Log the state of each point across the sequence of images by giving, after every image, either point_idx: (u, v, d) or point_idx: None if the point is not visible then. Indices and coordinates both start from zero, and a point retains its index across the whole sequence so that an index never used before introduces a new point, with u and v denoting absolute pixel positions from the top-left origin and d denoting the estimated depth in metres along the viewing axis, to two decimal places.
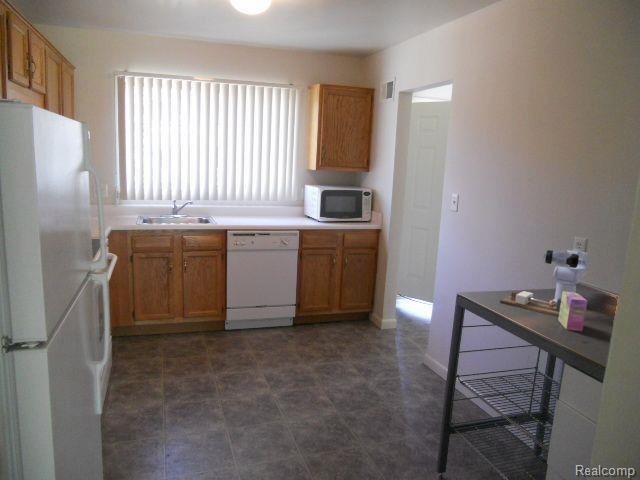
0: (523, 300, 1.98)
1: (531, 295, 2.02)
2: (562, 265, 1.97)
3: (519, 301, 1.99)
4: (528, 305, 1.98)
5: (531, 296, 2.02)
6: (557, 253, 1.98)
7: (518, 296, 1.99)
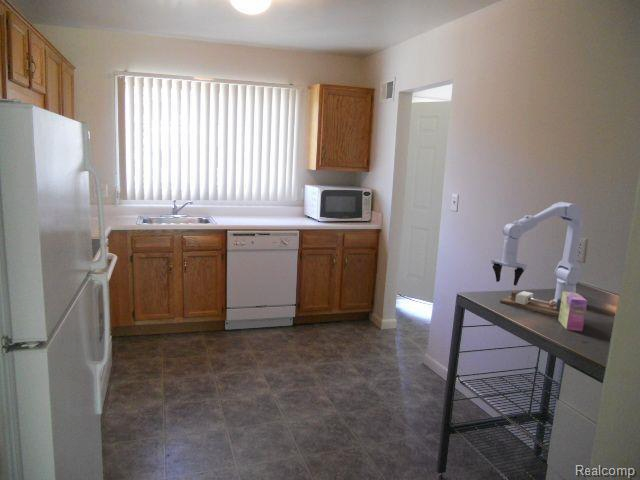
0: (523, 300, 1.98)
1: (531, 295, 2.02)
2: None
3: (519, 301, 1.99)
4: (528, 305, 1.98)
5: (531, 296, 2.02)
6: (501, 263, 2.02)
7: (518, 296, 1.99)
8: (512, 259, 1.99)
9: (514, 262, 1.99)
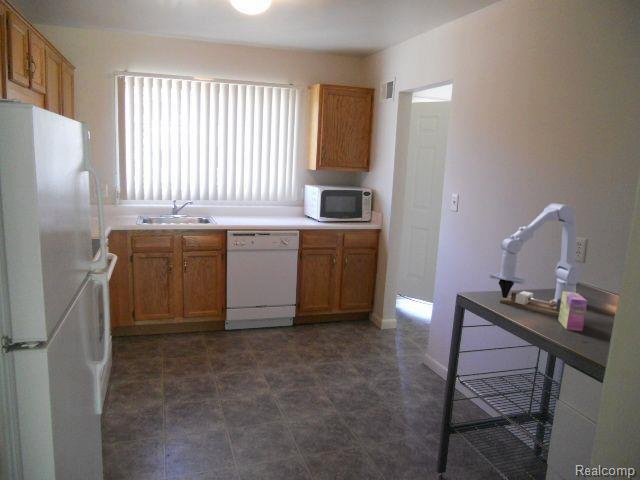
0: (523, 300, 1.98)
1: (531, 295, 2.02)
2: None
3: (519, 301, 1.99)
4: (528, 305, 1.98)
5: (531, 296, 2.02)
6: None
7: (518, 296, 1.99)
8: (510, 274, 2.00)
9: (512, 277, 2.00)
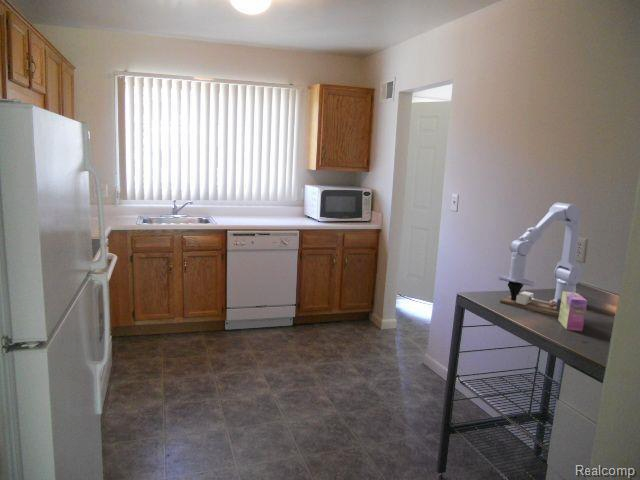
0: (524, 300, 1.98)
1: (532, 295, 2.02)
2: None
3: (520, 301, 1.99)
4: (528, 305, 1.98)
5: (532, 296, 2.02)
6: None
7: (519, 296, 1.99)
8: (519, 276, 1.97)
9: (521, 279, 1.98)
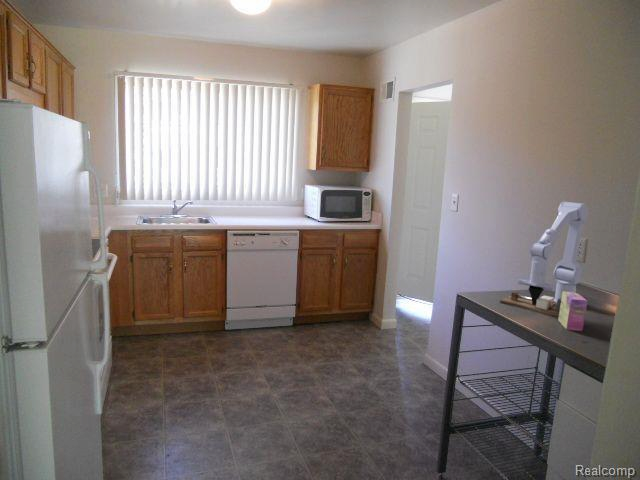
0: (544, 305, 1.92)
1: (552, 300, 1.97)
2: None
3: (540, 306, 1.93)
4: (528, 305, 1.98)
5: None
6: None
7: (539, 301, 1.93)
8: (541, 280, 1.92)
9: (543, 283, 1.92)
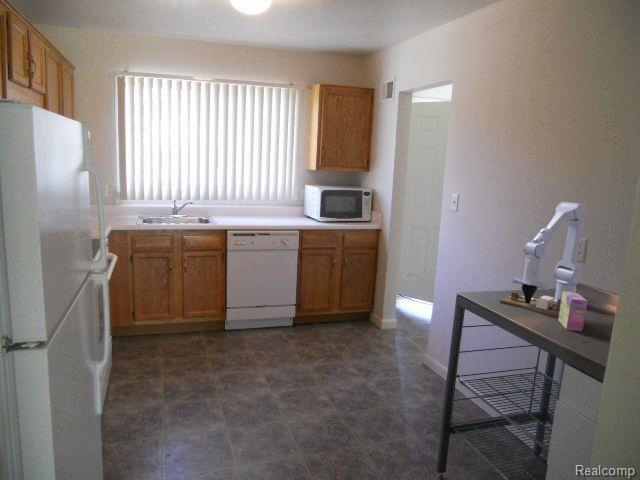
0: (544, 305, 1.92)
1: (552, 300, 1.97)
2: None
3: (540, 306, 1.93)
4: (528, 305, 1.98)
5: None
6: None
7: (539, 301, 1.93)
8: (534, 278, 1.93)
9: (536, 281, 1.94)
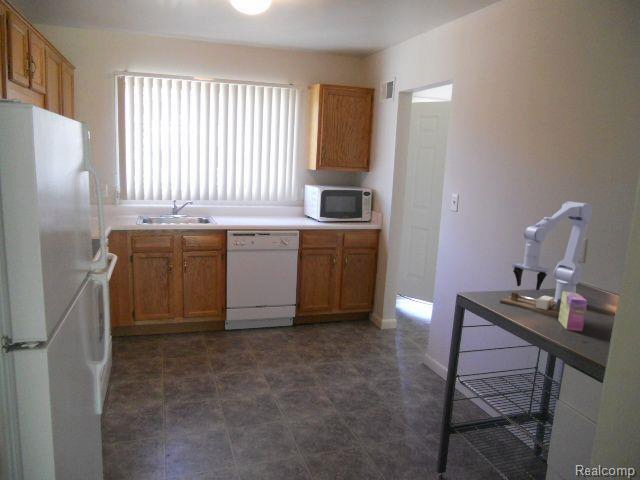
0: (544, 305, 1.92)
1: (552, 300, 1.97)
2: None
3: (540, 306, 1.93)
4: (528, 305, 1.98)
5: None
6: (523, 267, 1.96)
7: (539, 301, 1.93)
8: (534, 263, 1.93)
9: (536, 266, 1.93)
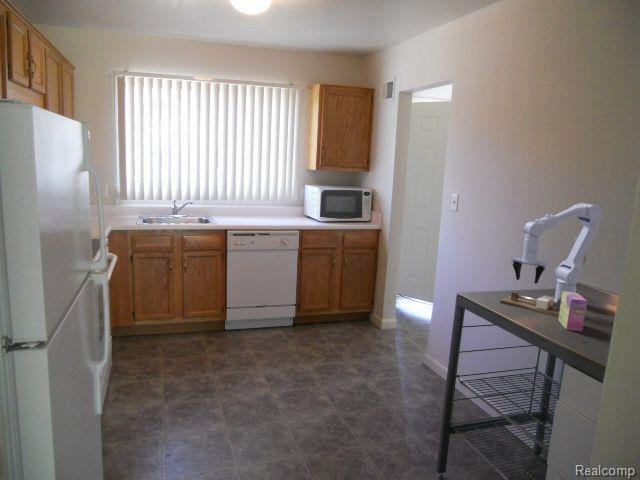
0: (544, 305, 1.92)
1: (552, 300, 1.97)
2: None
3: (540, 306, 1.93)
4: (528, 305, 1.98)
5: None
6: (522, 261, 2.03)
7: (539, 301, 1.93)
8: (533, 257, 2.00)
9: (535, 260, 2.00)
